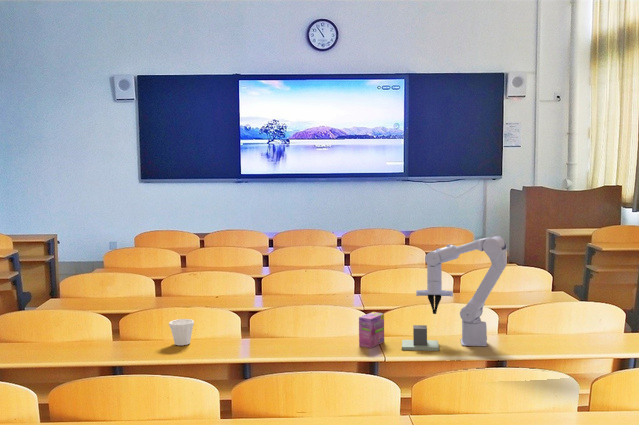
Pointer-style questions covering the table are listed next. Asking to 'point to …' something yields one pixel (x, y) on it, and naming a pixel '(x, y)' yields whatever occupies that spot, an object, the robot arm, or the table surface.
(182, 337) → the cup
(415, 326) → the cap
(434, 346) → the board
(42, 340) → the table surface
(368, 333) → the box
